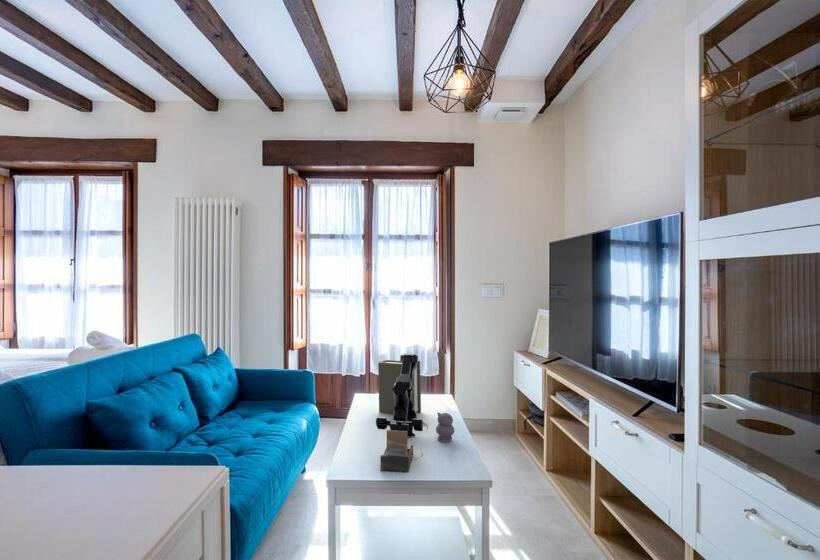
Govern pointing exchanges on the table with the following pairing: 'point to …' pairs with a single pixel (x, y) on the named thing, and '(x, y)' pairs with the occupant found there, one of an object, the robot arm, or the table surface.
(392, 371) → the book
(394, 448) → the slab
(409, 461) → the roller track
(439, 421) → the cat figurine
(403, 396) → the robot arm
